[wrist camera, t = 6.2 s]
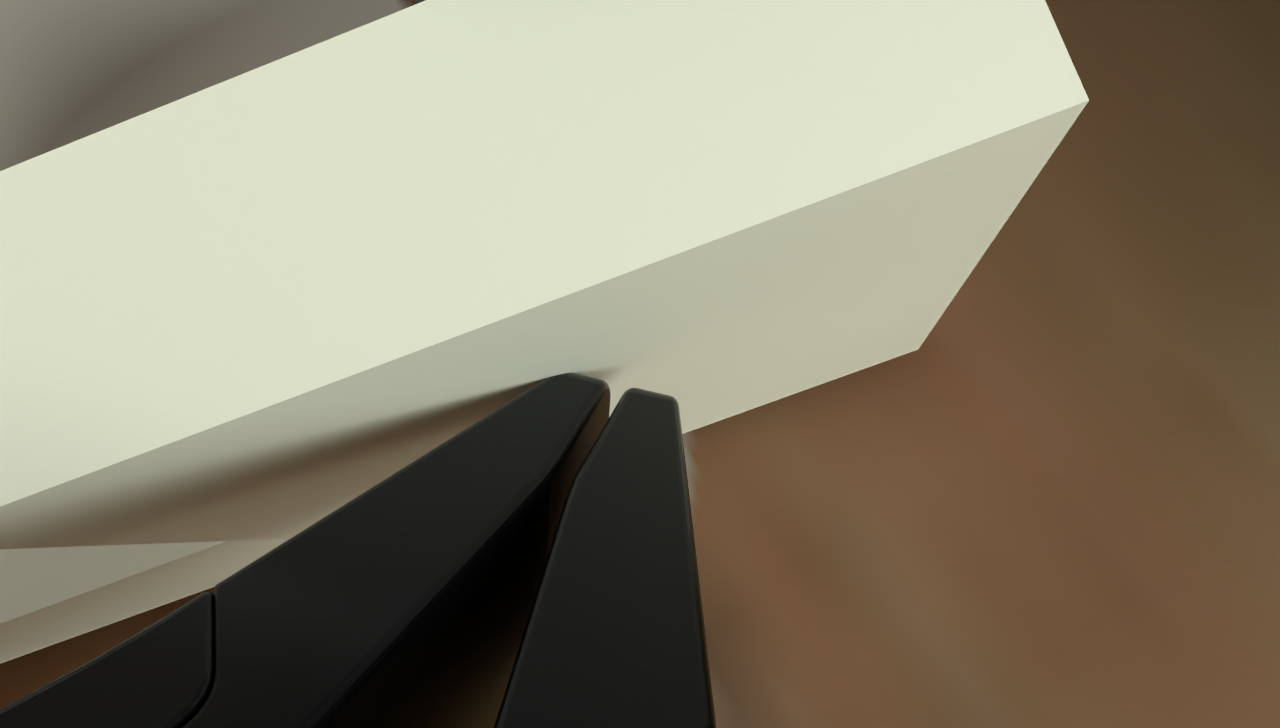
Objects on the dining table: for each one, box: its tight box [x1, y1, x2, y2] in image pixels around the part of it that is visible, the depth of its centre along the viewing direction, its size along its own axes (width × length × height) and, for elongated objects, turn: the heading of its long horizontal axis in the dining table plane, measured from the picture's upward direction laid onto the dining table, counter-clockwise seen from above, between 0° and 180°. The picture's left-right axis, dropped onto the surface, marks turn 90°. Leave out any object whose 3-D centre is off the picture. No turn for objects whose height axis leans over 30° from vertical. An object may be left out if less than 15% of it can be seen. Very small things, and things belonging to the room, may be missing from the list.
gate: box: [0, 0, 1089, 664], centre depth 11 cm, size 14×2×9 cm, turn 109°
